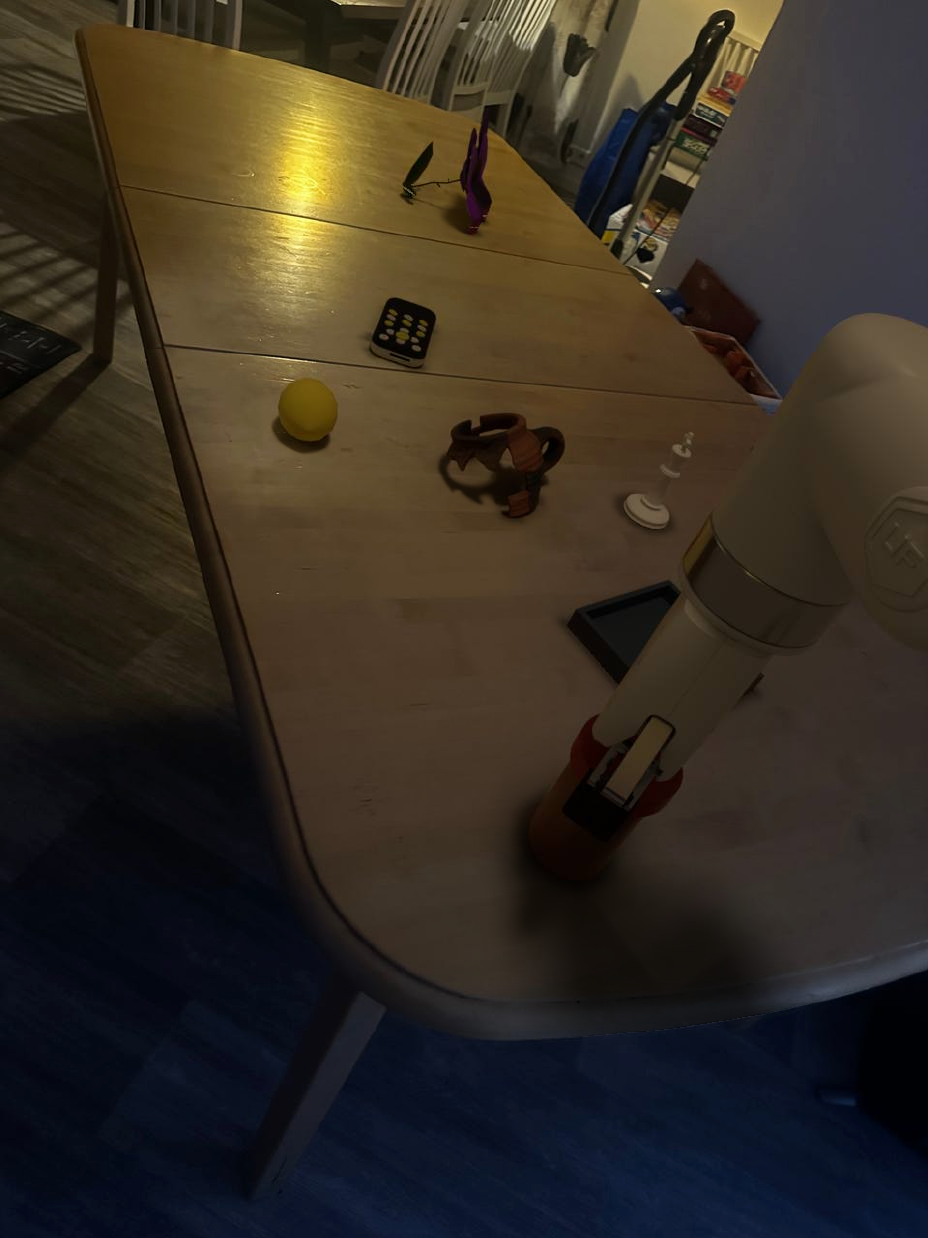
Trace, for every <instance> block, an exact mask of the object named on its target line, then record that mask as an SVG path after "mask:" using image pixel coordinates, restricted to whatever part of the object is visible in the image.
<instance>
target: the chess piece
mask: <svg viewBox="0 0 928 1238" xmlns="http://www.w3.org/2000/svg"><path fill="white" fill-rule="evenodd" d="M694 436H695V434H694V432H691V431H689V432H688V433H685V434H684V436H683V442H682V444H673V445H672V447H671V449H670V455H669V459H668V462H662V464H661V465H660V466H659V468H660V470H661V472H662V474H661V475H660V477H659V478H658V480H657V481H656V482H655V483H654V485H653V486H652V488H650V490H649V491H648V492H647V493H644V494H643V493H632V494H629V496H627V498H626V499H625V500H624V502H623V510H624V512H625V513H626V515H627V516H628V517H629V518H630V519H631V520H632V521H634V522H635V523H637V524H638V525H640V526H642V527H644V528H647V529H652V530H661V529H664V528H665V527H667V525H668V522H669V520H670V513H669V511H668V509H667V507H666V505H664V504H663V500H664V497H665V494H666V492H667V489H668V487H669V484H670V482H671V481H672V479H678V478H680V476H681V469H679V467H681V466H682V465H683V464H684V463H685V462H686V461H688V460H689V459H690V458H691V456H692V452H691V451H690V448H691V446H692V440H693V438H694Z"/></svg>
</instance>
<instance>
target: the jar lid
mask: <svg viewBox="0 0 928 1238" xmlns="http://www.w3.org/2000/svg"><path fill="white" fill-rule="evenodd" d="M599 715H600V713H597V714H595V715H593V716H591V717H590V718H589V719H588V720H586V721H585V723H584V724H583V726H582V727H581V729H580V731H579V732H578V734H577V736H576V737H575V739H574V741H573V743H572V745H571V747H570V753H569V757H570V759H569V761H571V766H572V770H573V773H574V775H575V777H576V779H577V781H578V782H579V783H580V781H581V780H582V779H583V777H584V776H585V774H586V773H587V772H588V770H589V769H590V767H591V768H592V769H594V770H595V768H596V767H597V766H598V764H599V763H600V761H601V760H602V758H603V757H604V755H605V754H606V752H607V751H608V750H609V748H610V747H611V746H609V747H605V746H604V745H603V744H601V743H600V742H599V741H596V740H595V739H594V737H593V734H592V726H593V725H594V723H595V721H596V720H597V718H598V716H599ZM637 737H638V736H637V735H635V736H633V737H630V738H628V740H629V741H631V742H632V743H634V741H635V740H636V738H637ZM660 753H661V751H659V752H658V753H657V755H656V756H655V758H656V759H657V757H658V756H659V754H660ZM623 758H624V757H623V756H622V755H620V754H619V753H618V754H617V756H616V757H615V759H614V760H613V762H612V763H611V764H610V766H609V767H608V769H607V771H609V772H610V773H613V772H614V771H615V770H616V768H617V767H618V765H619V764H620V762H621V761H622V759H623ZM683 767H684V765H683V766H682V767H681V768H680V770H679V771H678V772H677V773H676V774H675V775H674V776H673V777H672V778H671V779H669V780H667V781H655V779H656V776H654V778H653V779H652V780H651V782H650V783H649V785H648V786H647V787H646V789H645V790H644V792H643V793H642V794H641V796H640V797H639V799H638V801H639V802H638V804H637V806H636V807H635V809H634V810H633V811H632V812H631V814H630V815H629V817H644V818H646V817H647V818H648V817H651V816H653V815H655V814H658V813H660V812H662V810H664V809H665V808H666V807H667V805H668V804H669V803H670V801H671V800H672V799H673V798H674V796H675V795H676V794H677V792H678V791H679V789H680V788H681V786H682V783H683V779H684V768H683Z"/></svg>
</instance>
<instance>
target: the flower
mask: <svg viewBox="0 0 928 1238" xmlns="http://www.w3.org/2000/svg"><path fill="white" fill-rule="evenodd" d="M489 124H490V110H489V108H485V111H484V114H483V117H482V121H481V124H480V127H479V132H477V129H476V127H473V128H472V129H471V133H470V137H469V141H468V147H467V151H466V159H465V160H464V161H463V164H462V170H461V171H460V174H459V178H458V179H455V180H450V178H449V177H448V178H447V181H429V182H426V183H422V184H415V183H416V182H417V181H418V180H420V178H421V177H422V175H423V173H425V171H426V170H427V169H428V167H429V165H430V162H431V161H432V159H433V156H434V140H432V141H431V142H430V143H429V144H428V145H427V147H426V148H424V149H423V151H422V152H421V154H420V155H419V156H418V158H417V159H416V160H415V162H414V163H413V164H412V165H411V167H410V169H409V171H408V173H407V174H406V176H405V179H404V181H403V182H402V190H403V191H404V193H405V194H406V195H407V196H408V197H409V198H411V199H412V198H413V197H416V196H417V192H416V191H415V190H414V188H420V187H424V186H427V185H431V184H432V185H433V184H434V185H435V184H436V185H437V187H438V188H441V185H448V184H453V183H457V182H459V183H460V186H461V187H460V188H461V190H462V193H465V195H466V198H465V201H466V209H467V213H468V215H469V216H470V217H471V219H472V222H471V223H470V225H469V230H468V231H469V232H468V233H469V234H477V233H478V230H479V228H480V227H481V224H482V222H485V221H486V219H487V217H488V215H489V213H490V210H491V207H492V204H493V200H492V196H491V193H490V191H489V190H488V188H487V186H486V184H485V181H484V179H483V176H484V172H485V168H486V165H487V161H488V153H489V137H488V131H489ZM477 142H478V143H477ZM411 184H412V185H411ZM414 184H415V185H414ZM440 184H441V185H440ZM403 186H404V187H406V188H407V189H409V190H410V191H411V192H413V194H415V196H413V195H412V194H411V193H409V192H408V191H407V190H405V189H404V188H403ZM483 215H487V216H486V217H483ZM470 227H474V228H470ZM475 227H478V228H475Z"/></svg>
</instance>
